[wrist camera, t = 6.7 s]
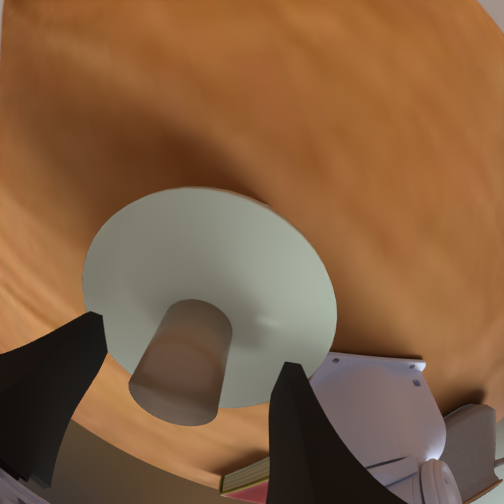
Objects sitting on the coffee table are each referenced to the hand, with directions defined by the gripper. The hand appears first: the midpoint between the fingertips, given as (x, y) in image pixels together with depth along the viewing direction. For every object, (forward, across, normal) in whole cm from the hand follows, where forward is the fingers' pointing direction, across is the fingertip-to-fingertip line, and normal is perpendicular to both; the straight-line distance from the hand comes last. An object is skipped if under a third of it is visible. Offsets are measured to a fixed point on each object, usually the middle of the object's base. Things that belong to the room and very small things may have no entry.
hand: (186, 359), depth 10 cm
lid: (+3, 0, 0) cm, 3 cm away
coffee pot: (+7, -34, +11) cm, 36 cm away
